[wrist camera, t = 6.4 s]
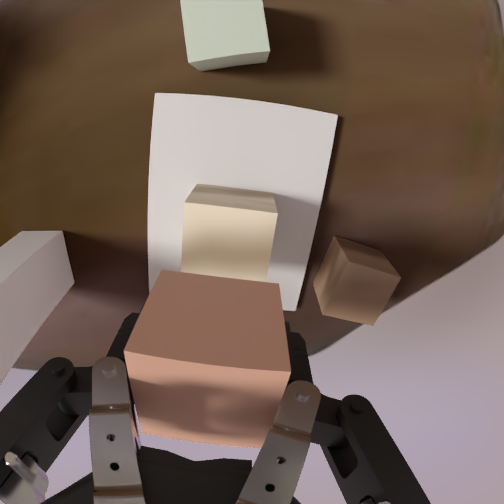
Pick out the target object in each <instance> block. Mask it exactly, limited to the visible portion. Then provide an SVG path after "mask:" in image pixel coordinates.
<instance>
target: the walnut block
mask: <svg viewBox="0 0 504 504" xmlns="http://www.w3.org/2000/svg"><path fill="white" fill-rule="evenodd" d="M400 279H401V277H400V275H399V274H398V273H397V271H396V270H395V269H394V267H393V266H392V265H391V264H390V262H389V261H388V260H387V258H386V257H385V256H384V255H383V253H382V252H381V251H380V250H377V249H374V248H371V247H368V246H365V245H362V244H359V243H356V242H353V241H350V240H347V239H344V238H341V237H338V236H335V235H334V236H333V239H332V241H331V243H330V245H329V248H328V250H327V252H326V254H325V257H324V259H323V261H322V263H321V265H320V268H319V270H318V272H317V274H316V276H315V278H314V281H313V285H314V289H315V292H316V295H317V298H318V302H319V305H320V308H321V311H322V315H327V316H331V317H336V318H340V319H344V320H349V321H354V322H358V323H363V324H367V325H372V326H373V325H374V323H375V321H376V320H377V318H378V317H379V315H380V314H381V312H382V310H383V309H384V307H385V305H386V304H387V302H388V300H389V298H390V297H391V295H392V293H393V291H394V290H395V288H396V286H397V284H398V283H399V281H400Z"/></svg>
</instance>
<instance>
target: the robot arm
mask: <svg viewBox="0 0 504 504" xmlns="http://www.w3.org/2000/svg"><path fill="white" fill-rule="evenodd" d="M144 305H145V304H144ZM144 305H143V307H144ZM143 307H142V309H143ZM142 309H141V311H142ZM140 313H141V312H140ZM139 316H140V314H139V313H131V314H130V315H129V316H128V317H126V318H125V319H124V321H123V323H122V325H121V328H120V329H119V331H118V334H117V335H116V337H115V339H114V341H113V343H112V345H111V348H110V350H109V352H108V354H107V356H106V357H103V358H101V359H99V360H97V361H96V362H95V363H94V365H93V366H91V367H74V366H73V364H72V362H71V361H70V360H68V359H66V358H62V357H57V358H53V359H51V360H49V361H48V362H46V363H45V365H44V366H43V367H42V368H41V369H40V370H39V371H38V372H37V373H36V374H35V375H34V376H33V377H32V378H31V379H30V380H29V381H28V382H27V383H26V385H24V387H23V388H22V389H21V390H20V391H19V392H18V393H17V394H16V395H15V396H14V397H13V398H12V399H11V401H10V402H9V403H8V404H7V405H6V406H5V407H4V408H3V409H2V411H1V412H0V500H1V501H2V502H3V503H5V504H301V503H300V502H299V501H298V500H297V499H296V498H295V497H294V496H293V494H294V492H295V489H296V486H297V483H298V480H299V477H300V474H301V471H302V468H303V465H304V462H305V459H306V456H307V452H308V449H309V446H310V442H312V443H316V444H320V446H321V448H322V450H323V453H324V455H325V457H326V459H327V461H328V464H329V466H330V468H331V470H332V472H333V475H334V477H335V479H336V481H337V483H338V485H339V488H340V490H341V492H342V494H343V496H344V498H345V501H346V503H347V504H431V503H430V501H429V500H428V498H427V496H426V494H425V493H424V491H423V490H422V488H421V486H420V484H419V483H418V481H417V479H416V478H415V476H414V474H413V472H412V471H411V469H410V467H409V466H408V464H407V462H406V461H405V459H404V457H403V456H402V454H401V452H400V451H399V449H398V447H397V446H396V444H395V442H394V441H393V439H392V437H391V436H390V434H389V432H388V431H387V429H386V427H385V426H384V424H383V423H382V421H381V419H380V417H379V416H378V414H377V413H376V411H375V409H374V408H373V406H372V404H371V403H370V402H369V401H368V400H367V399H366V398H364V397H362V396H360V395H348V396H346V397H344V398H343V399H342V401H341V400H337V399H334V398H330V397H327V396H325V395H323V394H321V393H320V391H319V389H318V388H317V387H316V386H315V385H314V384H313V381H312V375H311V370H310V365H309V360H308V354H307V351H306V344H305V340H304V339H303V338H302V336H301V335H300V334H299V333H293V332H290V326H289V321H284V322H285V329H286V337H287V344H288V352H289V359H290V367H291V374H290V377H289V380H288V383H287V386H286V389H285V392H284V394H283V397H282V400H281V403H280V406H279V408H278V411H277V413H276V416H275V418H274V421H273V423H272V425H271V427H270V429H269V432H268V434H267V436H266V439H265V441H264V443H263V446H262V448H261V450H260V452H259V455H258V457H257V459H256V461H255V464H254V466H253V467H252V460H238V459H226V458H223V459H214V460H205V461H192V460H189V459H187V458H184V457H181V456H179V455H176V454H174V453H171V452H169V451H166V450H160V449H155V448H150V447H145V446H141V443H140V437H139V431H138V425H137V419H136V412H135V406H134V404H135V403H134V398H133V394H132V390H131V385H130V380H129V376H128V371H127V366H126V360H125V355H124V349H125V347H126V344H127V342H128V340H129V338H130V335H131V333H132V331H133V329H134V326H135V324H136V322H137V320H138V318H139ZM87 415H89V433H90V449H91V461H92V471H93V472H91V473H90V474H88V475H87V476H85V477H83V478H82V479H80V480H79V481H77V482H75V483H74V484H72V485H71V486H69V487H68V488H66V489H64V490H63V491H61V492H59V493H57V494H56V495H54V496H52V497H50V498H49V499H47V500H45V492H46V491H47V488H48V477H47V475H46V472H47V470H48V469H49V467H50V466H51V464H52V463H53V462H54V460H55V459H56V458H57V456H58V455H59V453H60V452H61V451H62V449H63V448H64V447H65V445H66V444H67V443H68V441H69V440H70V438H71V437H72V436H73V434H74V433H75V432H76V430H77V429H78V428H79V426H80V425H81V423H82V422H83V421H84V419H85V418H86V417H87Z"/></svg>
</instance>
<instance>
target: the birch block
mask: <svg viewBox="0 0 504 504" xmlns="http://www.w3.org/2000/svg"><path fill="white" fill-rule="evenodd" d="M277 216H278V212H277V208H276V204H275V200H274V196H273V193H271V192H264V191H256V190H248V189H240V188H232V187H223V186H215V185H205V184H196V186H195V187H194V189H193V190H192V192H191V193H190V194H189V196H188V197H187V199H186V200H185V202H184V215H183V234H182V259H181V272H186V273H194V274H202V275H210V276H218V277H226V278H234V279H243V280H252V281H261V282H266V277H267V272H268V266H269V261H270V255H271V250H272V244H273V239H274V233H275V227H276V222H277Z"/></svg>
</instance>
